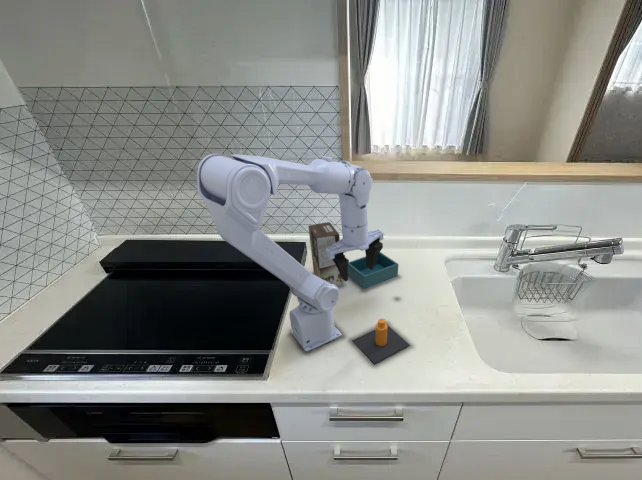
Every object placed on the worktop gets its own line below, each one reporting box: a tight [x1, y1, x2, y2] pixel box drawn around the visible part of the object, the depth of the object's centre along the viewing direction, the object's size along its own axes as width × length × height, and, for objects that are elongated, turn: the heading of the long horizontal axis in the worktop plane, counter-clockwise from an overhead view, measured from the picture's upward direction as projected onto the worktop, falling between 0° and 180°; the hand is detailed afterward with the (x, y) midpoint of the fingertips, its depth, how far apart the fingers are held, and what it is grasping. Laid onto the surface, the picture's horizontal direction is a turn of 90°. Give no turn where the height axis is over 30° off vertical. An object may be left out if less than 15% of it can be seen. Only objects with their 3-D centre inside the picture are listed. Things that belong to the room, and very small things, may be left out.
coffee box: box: [307, 221, 343, 287], centre depth 90 cm, size 9×6×16 cm
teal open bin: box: [347, 251, 399, 290], centre depth 95 cm, size 12×9×5 cm
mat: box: [351, 324, 411, 366], centre depth 74 cm, size 10×9×1 cm
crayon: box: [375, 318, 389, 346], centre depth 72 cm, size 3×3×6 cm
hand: (357, 273), depth 79 cm, fingers open, 7 cm apart
